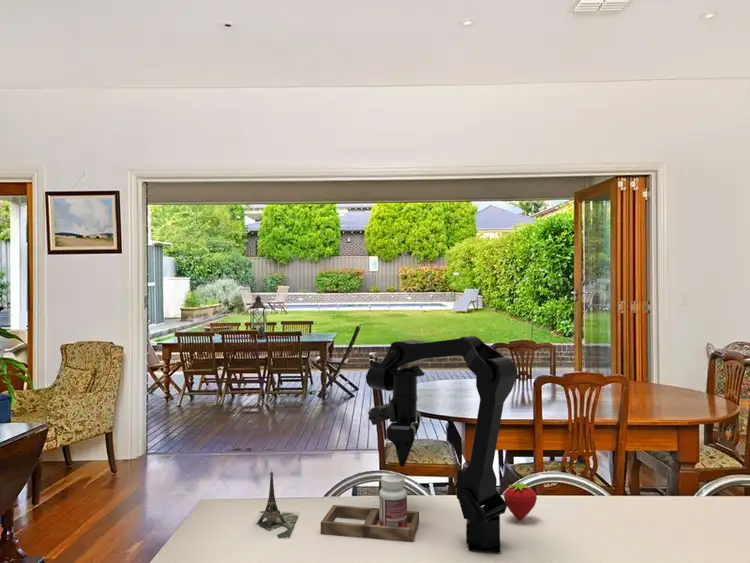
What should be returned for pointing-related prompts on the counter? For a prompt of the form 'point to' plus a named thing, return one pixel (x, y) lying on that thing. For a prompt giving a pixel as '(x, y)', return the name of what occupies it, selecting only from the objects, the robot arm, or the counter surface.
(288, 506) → the counter surface
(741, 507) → the counter surface
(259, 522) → the eiffel tower figurine
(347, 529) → the caddy
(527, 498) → the strawberry
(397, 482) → the pill bottle
